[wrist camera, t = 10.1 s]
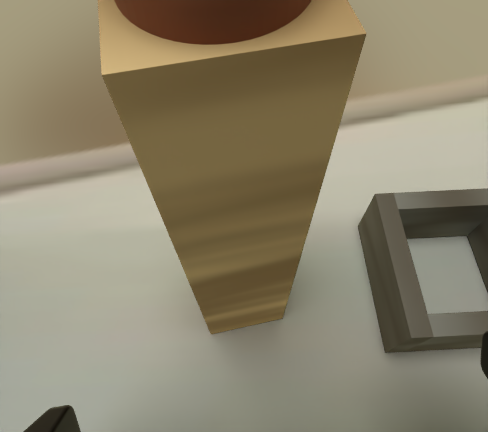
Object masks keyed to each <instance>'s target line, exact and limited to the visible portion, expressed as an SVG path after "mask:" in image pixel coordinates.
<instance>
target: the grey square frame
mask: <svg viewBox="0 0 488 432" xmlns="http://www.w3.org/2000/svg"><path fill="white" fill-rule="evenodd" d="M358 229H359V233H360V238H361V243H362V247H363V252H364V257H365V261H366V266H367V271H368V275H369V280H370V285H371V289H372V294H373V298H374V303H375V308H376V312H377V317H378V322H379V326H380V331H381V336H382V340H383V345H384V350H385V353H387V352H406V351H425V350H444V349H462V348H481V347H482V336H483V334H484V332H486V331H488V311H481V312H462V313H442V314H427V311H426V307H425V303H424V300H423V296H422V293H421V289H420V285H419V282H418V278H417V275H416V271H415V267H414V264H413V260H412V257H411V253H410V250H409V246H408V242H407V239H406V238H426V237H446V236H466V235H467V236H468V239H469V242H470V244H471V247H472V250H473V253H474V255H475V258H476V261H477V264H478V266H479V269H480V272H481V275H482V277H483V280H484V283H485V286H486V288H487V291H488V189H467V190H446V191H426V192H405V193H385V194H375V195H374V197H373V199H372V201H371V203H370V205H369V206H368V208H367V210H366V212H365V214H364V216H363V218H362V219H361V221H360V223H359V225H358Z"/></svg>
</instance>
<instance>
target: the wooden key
mask: <svg viewBox="0 0 488 432" xmlns="http://www.w3.org/2000/svg"><path fill="white" fill-rule="evenodd" d="M98 13H99V32H100V52H101V71H102V77H103V79H104V81H105V84H106V86H107V89H108V91H109V93H110V96H111V98H112V100H113V103H114V105H115V108H116V110H117V112H118V115H119V117H120V120H121V122H122V124H123V127H124V129H125V131H126V134H127V136H128V139H129V141H130V143H131V146H132V148H133V150H134V153H135V155H136V158H137V160H138V162H139V165H140V167H141V169H142V172H143V174H144V177H145V179H146V181H147V184H148V186H149V188H150V191H151V193H152V196H153V198H154V200H155V203H156V205H157V207H158V210H159V212H160V215H161V217H162V219H163V222H164V224H165V226H166V229H167V231H168V234H169V236H170V238H171V241H172V243H173V245H174V248H175V250H176V253H177V255H178V257H179V260H180V262H181V264H182V267H183V269H184V272H185V274H186V276H187V279H188V281H189V283H190V286H191V288H192V291H193V293H194V295H195V298H196V300H197V302H198V305H199V307H200V310H201V312H202V314H203V317H204V319H205V321H206V324H207V326H208V329H209V331H210V333H211V334H215V333H219V332H224V331H228V330H233V329H237V328H242V327H246V326H251V325H255V324H260V323H264V322H269V321H273V320H278V319H282V318H283V315H284V311H285V308H286V305H287V301H288V298H289V295H290V291H291V288H292V284H293V281H294V278H295V274H296V271H297V267H298V264H299V261H300V257H301V254H302V250H303V247H304V244H305V240H306V237H307V234H308V230H309V227H310V223H311V220H312V217H313V213H314V210H315V206H316V203H317V200H318V196H319V193H320V189H321V186H322V183H323V179H324V176H325V172H326V169H327V166H328V162H329V159H330V156H331V152H332V149H333V145H334V142H335V139H336V135H337V132H338V128H339V125H340V122H341V118H342V115H343V111H344V108H345V105H346V101H347V98H348V95H349V91H350V88H351V84H352V81H353V78H354V74H355V71H356V67H357V64H358V61H359V57H360V54H361V50H362V47H363V44H364V40H365V37H366V32H365V30H364V28H363V27H362V25H361V23H360V21H359V20H358V18H357V16H356V14H355V13H354V11H353V9H352V8H351V6H350V4H349V2H348V0H98Z"/></svg>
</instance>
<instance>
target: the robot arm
mask: <svg viewBox="0 0 488 432" xmlns="http://www.w3.org/2000/svg"><path fill="white" fill-rule="evenodd" d="M481 367H482V370H483V372H484V374H485V376H486V377H487V378H488V331H486V332H484V334H483V336H482V347H481ZM24 432H81V431H80V428H79V425H78V421H77V418H76V415H75V412H74V409H73V408H72V406H70V405H65V406H59V407H53V408H50V409H49V410H47V411H46V412H45V413H44V414H43V415H42V416H41V417H39V418H38V419H37V420H36V421H35V422H34V423H33V424H32V425H30V426H29V427H28V428H27V429H26V430H25V431H24Z"/></svg>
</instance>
